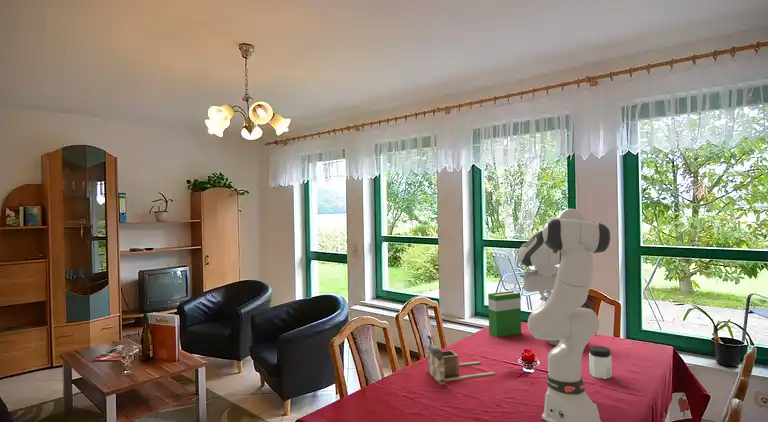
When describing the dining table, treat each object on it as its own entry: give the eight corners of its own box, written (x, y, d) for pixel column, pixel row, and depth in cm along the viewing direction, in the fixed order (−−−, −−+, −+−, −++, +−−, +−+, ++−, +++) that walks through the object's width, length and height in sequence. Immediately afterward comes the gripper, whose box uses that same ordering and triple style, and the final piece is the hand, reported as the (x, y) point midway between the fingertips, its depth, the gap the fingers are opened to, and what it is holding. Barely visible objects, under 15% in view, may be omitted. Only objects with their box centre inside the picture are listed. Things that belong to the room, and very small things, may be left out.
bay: (495, 377, 199) (494, 340, 199) (438, 384, 193) (437, 346, 193) (478, 364, 216) (477, 330, 216) (425, 370, 209) (424, 335, 209)
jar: (603, 380, 192) (603, 353, 192) (586, 375, 199) (585, 348, 199) (615, 375, 197) (614, 348, 197) (597, 370, 204) (597, 344, 204)
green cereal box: (513, 330, 273) (512, 291, 273) (521, 333, 266) (520, 293, 266) (489, 333, 266) (488, 293, 266) (496, 337, 260) (495, 296, 259)
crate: (458, 375, 199) (458, 355, 199) (442, 377, 197) (441, 357, 197) (452, 369, 207) (451, 350, 207) (435, 371, 205) (435, 351, 205)
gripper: (528, 272, 197) (528, 303, 197) (568, 269, 202) (569, 299, 202) (520, 270, 203) (521, 300, 203) (559, 267, 208) (560, 297, 208)
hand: (545, 300), depth 203 cm, fingers closed
